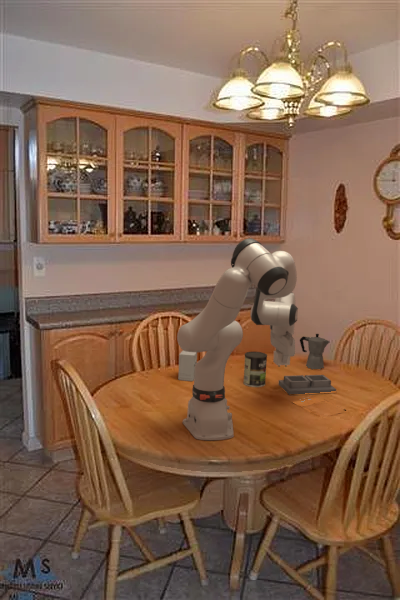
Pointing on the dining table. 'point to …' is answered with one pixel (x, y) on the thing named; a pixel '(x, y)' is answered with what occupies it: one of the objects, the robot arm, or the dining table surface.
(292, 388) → the socket board
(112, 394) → the dining table surface
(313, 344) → the coffeepot
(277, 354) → the plug
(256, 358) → the coffee can
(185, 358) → the supplement box
